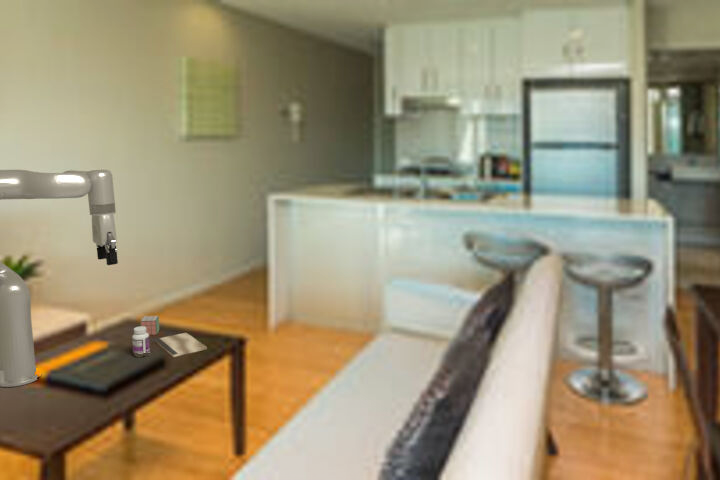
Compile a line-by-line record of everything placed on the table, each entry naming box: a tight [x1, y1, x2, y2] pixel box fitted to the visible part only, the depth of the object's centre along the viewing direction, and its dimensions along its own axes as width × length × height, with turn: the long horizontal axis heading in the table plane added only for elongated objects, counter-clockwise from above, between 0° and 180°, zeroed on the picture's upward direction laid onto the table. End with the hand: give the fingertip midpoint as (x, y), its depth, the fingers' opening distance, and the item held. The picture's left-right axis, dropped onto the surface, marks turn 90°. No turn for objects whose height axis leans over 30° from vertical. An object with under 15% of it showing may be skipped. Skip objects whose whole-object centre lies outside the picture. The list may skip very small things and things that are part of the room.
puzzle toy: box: [139, 315, 160, 336], centre depth 214 cm, size 6×6×6 cm
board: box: [154, 332, 208, 358], centre depth 202 cm, size 12×18×1 cm, turn 39°
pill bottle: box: [131, 325, 151, 354], centre depth 192 cm, size 5×5×10 cm
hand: (107, 261), depth 183 cm, fingers open, 9 cm apart
